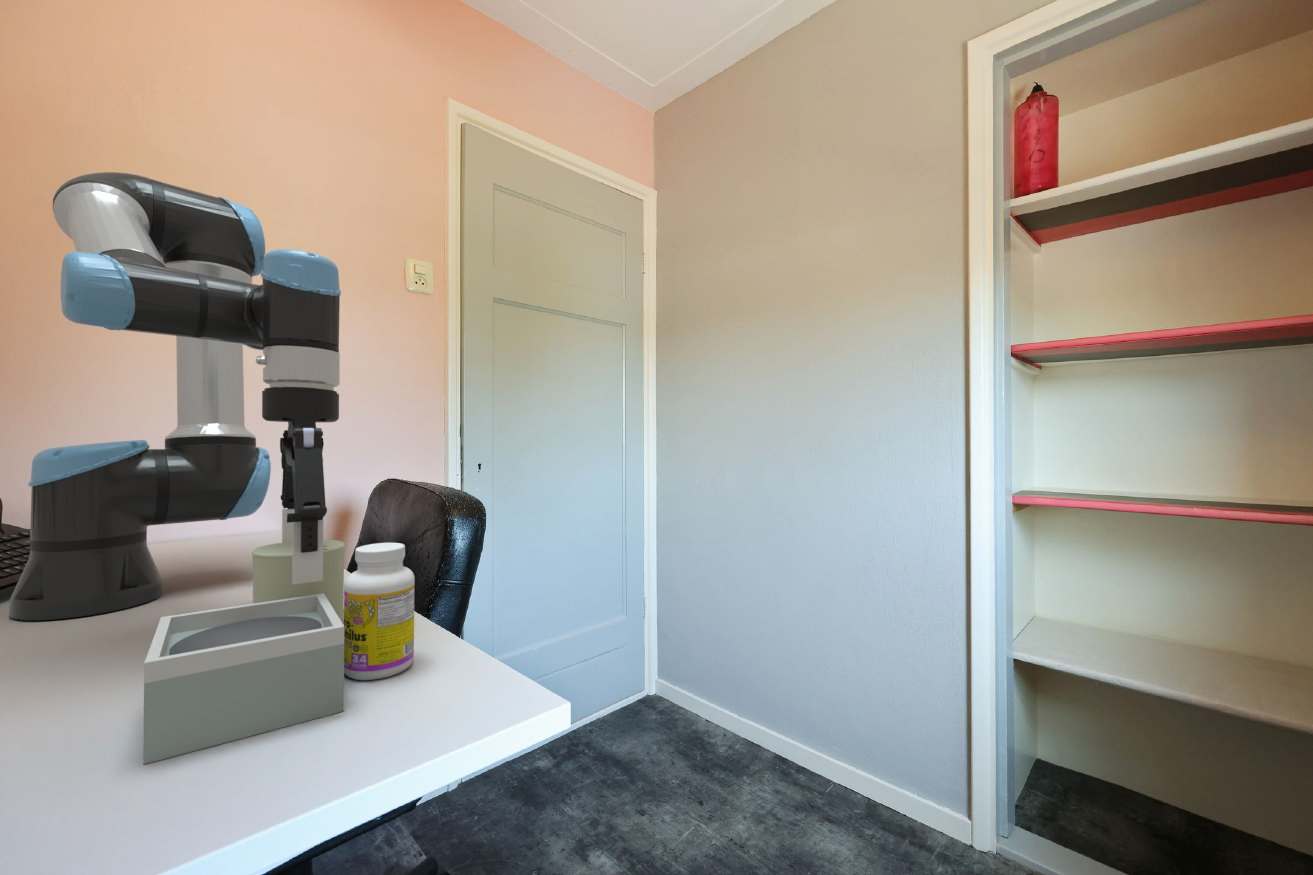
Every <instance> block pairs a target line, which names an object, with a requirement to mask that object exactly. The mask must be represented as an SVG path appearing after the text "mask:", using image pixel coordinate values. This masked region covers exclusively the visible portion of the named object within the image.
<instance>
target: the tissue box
mask: <svg viewBox="0 0 1313 875" xmlns="http://www.w3.org/2000/svg"><path fill="white" fill-rule="evenodd" d="M152 638H153V639H152V641H151V644H150V647H149V648H148V651H147V655H146V658H145V660H144V663H143V666H144V668H143V672H144V673H143V748H142V750H143V754H142V755H143V757H142V761H143V765H147V764H150V763H154V762H158V761H162V760H165V759H168V758H173V757H176V756H180V755H185V754H187V753H192V752H195V751H199V750H203V749H206V748H210V747H214V746H218V745H221V744H225V743H229V742H230V743H231V742H233V741H237V740H241V739H244V738H248V737H252V736H256V735H259V734H262V733H267V732H271V731H274V730H278V729H282V728H286V727H290V726H293V725H297V724H300V723H304V722H308V721H312V720H315V719H319V718H324V717H327V716H330V715H334V714H339V713H343V712H344V710H345V709H344V705H345V704H344V702H345V701H344V700H345V695H344V694H345V690H344V689H345V686H344V685H345V673H344V625H343V624H342V622H341V620H340V619H339V617H338V615H337V614H336V612H335V611H334V609H333V607H332V606H331V604H330V602H329V601H328V599H327V597H326V596H325V594H324V593H323V594H316V595H309V596H302V597H295V598H288V599H282V600H275V601H268V602H261V603H254V604H253V603H248V604H242V605H235V606H229V607H228V606H227V607H221V608H220V607H219V608H214V609H207V610H200V611H192V612H187V613H181V614H179V613H178V614H174V615H165V616H161V617H160V619H159V622H158V625H157V627H156V630H155V632H154V636H153V637H152Z"/></svg>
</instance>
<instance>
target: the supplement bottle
mask: <svg viewBox="0 0 1313 875" xmlns="http://www.w3.org/2000/svg"><path fill="white" fill-rule="evenodd" d="M405 557H406V546H405V544H404V543H400V542H377V543H370V544H365V545H361V546H359V547H356V548H355V551H354V561H355V562H356V563H355V564H357V570H355V571H353V572H351V573H350V574H349V575H348V576H347V577H346V579H345V580H344V599H343V623H344V675H346V676H347V677H348V678H351V679H353V680H359V681H372V680H373V681H374V679H375V680H380V679H381V680H382V679H386V678H388V677H392V676H395V675H397V674H400V673H402V672H404V671H405V670H407V669H408V668H409V667H410V666H411V665H412V663H413V661H414V656H415V655H414V654H415V649H414V648H415V586H416V585H415V584H416V583H415V582H416V581H415V580H416V579H415V574H414V572H413V571H412V570H411V569H410V568H408V567H406V566H404V559H405Z"/></svg>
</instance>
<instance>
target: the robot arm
mask: <svg viewBox="0 0 1313 875" xmlns="http://www.w3.org/2000/svg"><path fill="white" fill-rule="evenodd" d="M52 211H53V215H54V218H55V221H56V223H57V225H58V226H59V228H60V229H61V231H62V232H63V233H64V234H65V235H66V236H67V237H68V238H69V239H71V240H72V242H73V246H74V248H75V251H70V252H68V253H66V254H65V255H64V256H63V259H62V264H61V273H60V300H61V301H60V302H61V312H62V314H63V316H64V317H65V318H66V319H67V320H69V321H70V322H72V323H75V324H80V325H85V326H86V325H87V326H91V327H92V326H94V327H98V328H99V327H100V328H103V329H106V330H109V331H127V332H137V333H145V334H146V333H147V334H156V335H166V336H174V337H175V338H176V339H175V340H176V345H175V346H176V412H177V415H176V416H177V417H176V418H177V425H176V428H175V429H174V430H173V431H171V432H170V433H169V434H168V435H166V436H165V437H164V448H155V449H154V448H150V444H149V443H148V441H147V440H145V439H138V440H137V439H136V440H124V441H123V440H122V441H121V440H120V441H111V442H110V441H109V442H99V443H97V442H96V443H88V444H87V443H86V444H78V445H69V446H68V445H67V446H59V447H51V448H47V449H43V450H41V451H40V452H38V453H37V454H35V455H34V457H33V459H32V462H31V472H30V475H31V476H30V480H29V482H28V487H29V488H31V493H30V497H31V498H30V528H29V529H30V530H29V533H30V535H29V536H30V537H29V541H30V542H29V543H30V544H29V557H28V560H27V562H26V564H25V566H24V568H23V571H22V573H21V574H20V577H19V579H18V581H17V583H16V586H15V588H14V590H13V592H12V594H11V596H10V598H9V606H8V608H9V611H8V612H9V613H8V615H9V616H8V617H9V618H10V617H12V618H11V619H13V618H14V619H13V620H17V619H19V621H51V620H61V619H63V620H65V619H71V618H79V617H86V616H93V615H99V614H105V613H109V612H115V611H120V610H123V609H128V608H133V607H136V606H139V605H142V604H146V603H148V602H151V601H153V600H156V599H157V598H159V597H160V596H162V594H163V593H162V592H163V580H162V576H161V574H160V573H159V570H158V568H157V565H156V563H155V561H154V558H153V556H152V554H151V551H150V550H149V547H148V543H147V542H148V541H147V540H148V539H147V537H148V536H147V534H148V526H149V527H150V526H157V525H158V526H159V525H171V524H182V523H183V524H184V523H194V522H205V521H206V522H207V521H217V520H219V521H226V520H228V519H233V518H235V519H236V518H241V517H242V518H243V517H244V518H245V517H248V516H251V515H253V514H255V513H256V512H257V511H258V510H259V509H260V507H261V506H262V505H263V503H264V501H265V498H266V497H267V493H268V490H269V486H270V480H271V473H272V472H271V471H272V469H271V468H272V466H271V464H272V463H271V460H270V457H271V456H270V453H269V451H267V449H265V448H262V447H259V446H257V437H256V436H255V434H253V433H252V432H250V430H248V429H247V427H246V426H245V387H244V386H245V384H244V382H245V381H244V379H245V378H244V346H247V348H249V349H253V350H256V351H258V350H259V351H262V353H263V355H264V356H263V355H257V356H256V358H255V363H256V364H257V365H259V366H260V365H262V366H264V367H263V368H262V381H263V382H264V383H265V384H267V385H269V387H266V388H264V390H262V391H261V416H262V419H263V420H265V421H266V422H267V421H268V422H277V423H278V422H279V423H282V422H283V423H287V424H288V425H287V429H285V430H284V431H283V432H282V437H280V438H279V450H280V453H281V458H280V460H281V469H282V484H281V495H280V500H281V506H282V507H283V508H282V510H281V512H282V513H281V517H282V518H281V519H282V520H281V521H282V522H281V523H282V524H281V525H282V526H281V528H282V529H281V534H282V535H281V538H282V540H281V543H283V542H291V541H293V544H292V584H293V585H294V584H301V583H309V582H316V581H323V540H324V517H325V516H326V514H327V513H328V507H327V506H326V490H325V475H324V474H325V473H324V458H323V450H324V444H325V443H324V438H323V436H324V431H323V430H322V428H321V427H317V425H316V424H317V423H335V422H337V421H338V420H339V419H340V393H338V392H337V390H335V389H334V388H337V387H338V386H340V373H341V370H340V369H341V368H340V363H341V362H340V361H341V360H340V358H341V356H340V355H341V354H340V350H339V349H340V301H341V300H340V296H341V294H342V291H341V289H340V277H339V269H338V266H337V265H336V263H334V261H332V260H331V259H329V258H328V257H325V256H323V255H321V254H318V253H313V252H310V251H305V250H299V249H291V248H290V249H287V248H281V249H280V248H279V249H274V250H270V251H268V252H266V241H265V234H264V230H263V226H262V224H261V221H260V219H259V217H258V215H256V214H255V213H254V210H252V209H250V208H249V207H247V206H245V205H243V204H239V203H236V202H233V201H230V200H228V199H227V198H224V197H221V196H213V195H209V194H207V193H203V192H199V191H195V190H192V189H187V188H184V187H182V186H177V185H173V184H170V183H166V182H162V181H159V180H156V179H153V178H152V179H151V178H149V177H146V176H142V175H139V174H133V173H127V172H118V171H117V172H115V171H111V172H108V171H106V172H105V171H104V172H103V171H102V172H93V173H88V174H87V173H86V174H83V175H80V176H79V175H78V176H77V177H73V178H71V179H69V180H67V181H66V182H64V183H63V184H61V185H60V187H59V188H58V189H57V190H56V191H55V193H54V196H53V198H52ZM259 275H260V277H261V278H262V279H261V280H262V284H255V283H253V277H257V276H259Z"/></svg>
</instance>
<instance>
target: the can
mask: <svg viewBox="0 0 1313 875" xmlns="http://www.w3.org/2000/svg"><path fill="white" fill-rule="evenodd" d="M292 544H293V541H291V542H283V543H282V542H277V543H272V544H267V545H262V546H259V547H257V548H254V549H252V551H251V555H252V604H254V603H261V602H268V601H275V600H282V599H288V598H295V597H302V596H309V595H316V594H323V593H324V594H325V596H326V597H327V599H328V601H329V602H330V604H331V606H332V607H333V609H334V611H335V612H336V614H337V615H338V617H339V619H340V620H341V622H342V624H343V625H344V584H345V580H344V579H345V577H344V575H345V547H346V542H344V541H341V540H335V539H323V581H316V582H309V583H301V584H294V585H293V584H292Z"/></svg>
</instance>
